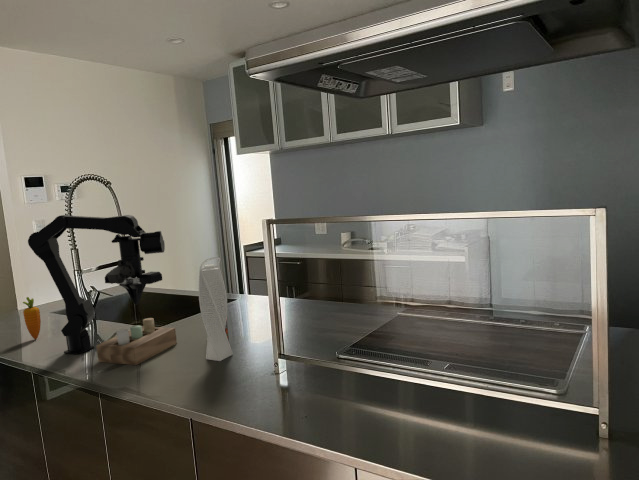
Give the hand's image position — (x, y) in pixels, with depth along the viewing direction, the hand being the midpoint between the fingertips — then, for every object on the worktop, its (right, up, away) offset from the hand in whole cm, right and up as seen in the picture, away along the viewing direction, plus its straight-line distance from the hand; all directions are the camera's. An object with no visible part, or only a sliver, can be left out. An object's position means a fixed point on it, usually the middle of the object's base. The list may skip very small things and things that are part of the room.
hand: (136, 304), depth 159 cm
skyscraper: (+30, -13, -17) cm, 36 cm away
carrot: (-41, -15, +16) cm, 47 cm away
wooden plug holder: (+3, -14, -7) cm, 16 cm away
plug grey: (+1, -12, -12) cm, 17 cm away
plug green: (+3, -12, -7) cm, 14 cm away
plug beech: (+5, -10, -2) cm, 12 cm away
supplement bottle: (+27, -12, -6) cm, 30 cm away
